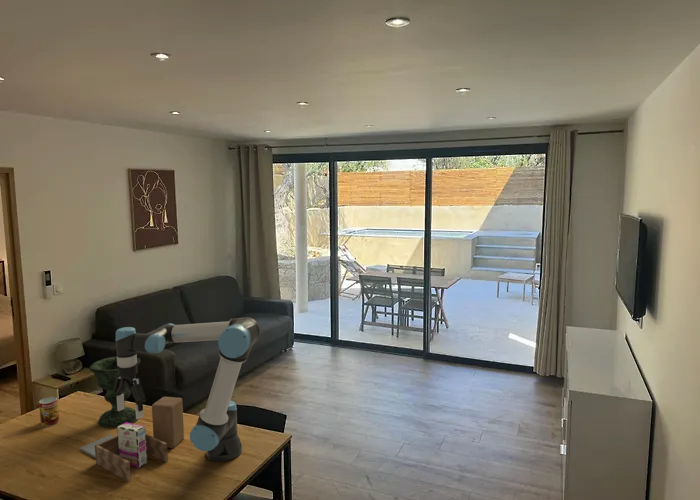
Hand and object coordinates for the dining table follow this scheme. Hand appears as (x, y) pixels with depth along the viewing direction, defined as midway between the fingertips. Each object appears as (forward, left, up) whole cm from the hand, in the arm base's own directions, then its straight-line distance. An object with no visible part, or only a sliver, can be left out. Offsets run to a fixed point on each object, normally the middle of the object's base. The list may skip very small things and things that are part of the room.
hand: (130, 413), depth 203 cm
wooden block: (+2, -19, -22) cm, 29 cm away
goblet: (+43, -19, -22) cm, 52 cm away
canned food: (+69, +2, -22) cm, 72 cm away
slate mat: (+23, 0, -22) cm, 32 cm away
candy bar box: (0, 0, -22) cm, 22 cm away
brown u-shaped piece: (0, 0, -22) cm, 22 cm away
